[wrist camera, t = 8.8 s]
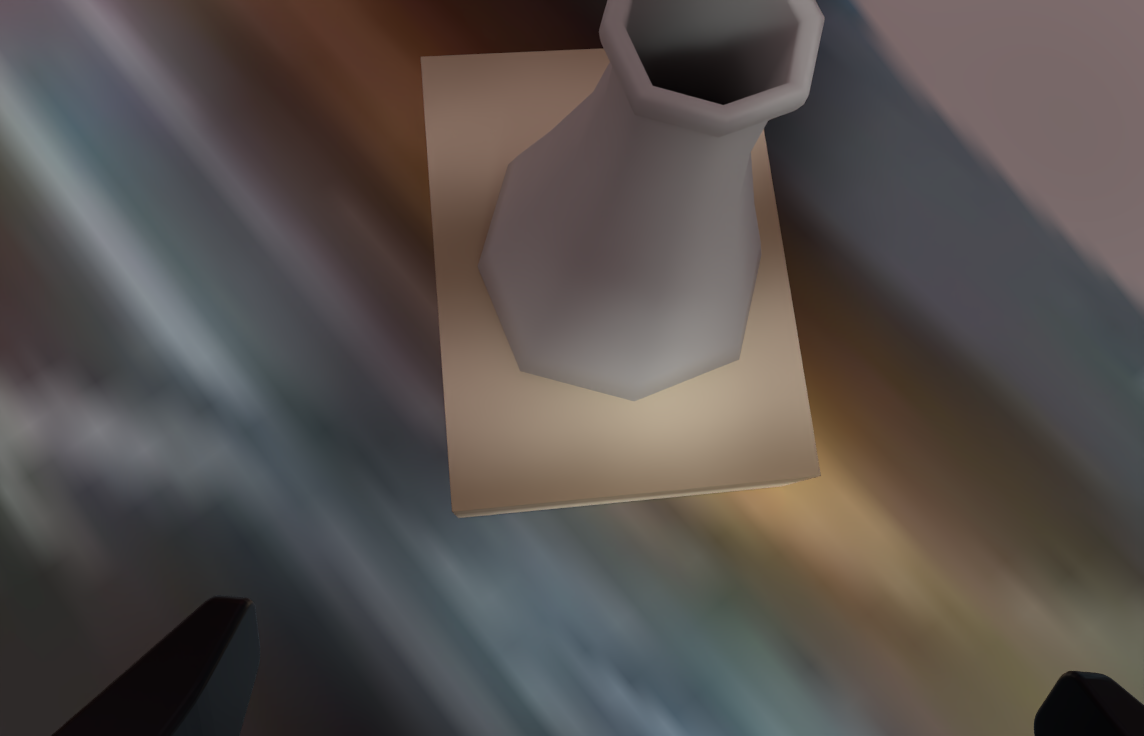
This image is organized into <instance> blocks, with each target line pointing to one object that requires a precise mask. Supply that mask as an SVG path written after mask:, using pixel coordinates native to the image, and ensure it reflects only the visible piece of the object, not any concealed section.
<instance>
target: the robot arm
mask: <svg viewBox="0 0 1144 736" xmlns="http://www.w3.org/2000/svg"><path fill="white" fill-rule="evenodd" d="M259 660H260V643H259V634H258V626H257V617H256V609H255V605H254V603H253V601H252V600H251V599H249V598H246V597H235V596H224V595H217V596H214V597H211V598H210V599H208V600H207V601H205V602H204V603H203V604H202V605H201V606H200V607H199V608H197V609H196V610H195V611H194V612H193V613H192V614H191V615H189V616H188V617H187V618H186V619H185V620H184V621H182V622H181V623H180V624H179V625H178V626H177V627H176V628H174V629H173V630H172V631H171V632H170V633H169V634H167V635H166V636H165V637H164V638H163V639H162V640H161V641H159V642H158V643H157V644H156V645H155V646H154V647H153V648H151V649H150V650H149V651H148V652H147V653H146V654H144V655H143V656H142V657H141V658H140V659H139V660H138V661H136V662H135V663H134V664H133V665H132V666H131V667H130V668H128V669H127V670H126V671H125V672H124V673H123V674H121V675H120V676H119V677H118V678H117V679H116V680H115V681H113V682H112V683H111V684H110V685H109V686H108V687H106V688H105V689H104V690H103V691H102V692H101V693H100V694H98V695H97V696H96V697H95V698H94V699H93V700H92V701H90V702H89V703H88V704H87V705H86V706H85V707H83V708H82V709H81V710H80V711H79V712H78V713H77V714H75V715H74V716H73V717H72V718H71V719H70V720H68V721H67V722H66V723H65V724H64V725H63V726H62V727H60V728H59V729H58V730H57V731H56V732H55V733H54V734H52V735H51V736H239V735H240V731H241V728H242V724H243V720H244V717H245V713H246V710H247V706H248V703H249V699H250V696H251V692H252V688H253V685H254V681H255V678H256V674H257V670H258V666H259ZM1034 734H1035V736H1144V705H1143V704H1142V703H1141V702H1139V701H1138V700H1137V699H1136V698H1135V697H1133V696H1132V695H1131V694H1130V693H1128V692H1127V691H1126V690H1125V689H1124V688H1122V687H1121V686H1120V685H1119V684H1118V683H1116V682H1115V681H1114V680H1112V679H1111V678H1110V677H1108V676H1106V675H1103V674H1099V673H1091V672H1080V671H1068V672H1066V673H1064V674H1063V675H1062V676H1061V677H1060V678H1059V680H1058V681H1057V683H1056V684H1055V686H1054V687H1053V689H1052V690H1051V692H1050V693H1049V695H1048V696H1047V698H1046V699H1045V701H1044V702H1043V704H1042V705H1041V707H1040V708H1039V710H1038V712H1037V714H1036V716H1035V720H1034Z"/></svg>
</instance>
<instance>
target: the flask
mask: <svg viewBox="0 0 1144 736" xmlns="http://www.w3.org/2000/svg"><path fill="white" fill-rule="evenodd" d="M824 19H825V18H824V16H823V14H822V12H821V10H820V8H819V6H818V4H817V2H816V1H815V0H607V4H606V7H605V11H604V14H603V18H602V21H601V25H600V29H599V35H600V41H601V44H602V46H603V48H604V50H605V52H606V54H607V56H608V59H609V61H610V63H609V64H608V66H607V68H606V70H605V71H604V73H603V75H602V77H601V79H600V80H599V82H598V84H597V86H596V88H595V89H594V91H593V92H592V93H591V94H590V95H589V96H588V97H587V98H586V99H585V100H584V101H583V102H582V103H580V104H579V105H578V106H577V107H576V108H575V109H574V110H573V111H572V112H571V113H570V114H568V115H567V116H566V117H565V118H564V119H563V120H562V121H561V122H560V123H559V124H558V125H557V126H555V127H554V128H553V129H552V130H551V131H550V132H549V133H547V134H546V135H545V136H543V137H542V138H541V139H539V140H538V141H537V142H535V143H534V144H533V145H531V146H530V147H529V148H527V149H526V150H525V151H524V152H522V153H521V154H520V155H518V156H517V157H516V158H515V159H514V160H513V161H512V162H511V163H509V164H508V167H507V170H506V173H505V177H504V180H503V183H502V187H501V190H500V193H499V197H498V200H497V203H496V207H495V210H494V213H493V217H492V220H491V223H490V227H489V230H488V233H487V237H486V240H485V243H484V247H483V250H482V253H481V257H480V260H479V263H478V269H479V271H480V274H481V276H482V279H483V281H484V284H485V286H486V288H487V291H488V293H489V296H490V298H491V301H492V303H493V306H494V308H495V310H496V313H497V315H498V318H499V320H500V323H501V325H502V328H503V330H504V333H505V335H506V337H507V340H508V342H509V345H510V347H511V350H512V352H513V355H514V357H515V359H516V362H517V364H518V367H519V369H520V371H522V372H526V373H529V374H533V375H537V376H541V377H544V378H548V379H552V380H556V381H559V382H563V383H567V384H571V385H574V386H578V387H582V388H586V389H589V390H593V391H597V392H601V393H604V394H608V395H612V396H616V397H619V398H623V399H627V400H631V401H637V400H639V399H642V398H644V397H647V396H649V395H652V394H654V393H657V392H659V391H662V390H664V389H667V388H669V387H672V386H674V385H677V384H679V383H682V382H684V381H687V380H689V379H692V378H694V377H697V376H699V375H702V374H704V373H707V372H709V371H712V370H714V369H717V368H719V367H722V366H724V365H727V364H729V363H732V362H734V361H737V360H739V358H740V353H741V348H742V344H743V339H744V334H745V330H746V325H747V320H748V316H749V311H750V306H751V301H752V297H753V292H754V287H755V283H756V278H757V273H758V269H759V264H760V259H761V241H760V235H759V229H758V223H757V217H756V211H755V204H754V191H753V175H752V160H751V151H752V149H753V147H754V145H755V143H756V142H757V140H758V138H759V136H760V135H761V133H762V131H763V129H764V127H765V126H766V124H767V122H768V120H770V119H773V118H776V117H778V116H781V115H784V114H787V113H790V112H793V111H795V110H797V109H798V108H799V107H801V106H802V105H804V103H805V101H806V99H807V97H808V95H809V91H810V86H811V82H812V77H813V72H814V67H815V63H816V58H817V53H818V48H819V43H820V39H821V34H822V29H823V24H824Z"/></svg>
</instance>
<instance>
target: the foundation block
mask: <svg viewBox="0 0 1144 736" xmlns="http://www.w3.org/2000/svg"><path fill="white" fill-rule="evenodd" d="M609 63H610V61H609V59H608V56H607V54H606V52H605V50H604V48H603V49H580V50H558V51H536V52H513V53H491V54H469V55H446V56H424V57H421V70H422V85H423V99H424V114H425V128H426V142H427V157H428V171H429V186H430V200H431V215H432V229H433V244H434V258H435V272H436V287H437V301H438V316H439V330H440V345H441V359H442V374H443V388H444V403H445V417H446V431H447V446H448V460H449V475H450V489H451V504H452V512H453V513H454V514H455V515H456V516H457V517H458V518H464V517H474V516H484V515H495V514H505V513H515V512H525V511H535V510H546V509H556V508H566V507H576V506H586V505H597V504H607V503H617V502H627V501H637V500H648V499H658V498H668V497H678V496H688V495H698V494H709V493H719V492H729V491H739V490H749V489H760V488H770V487H780V486H785V485H789V484H792V483H796V482H800V481H804V480H807V479H811V478H815V477H818V476H821V474H820V468H819V462H818V456H817V450H816V444H815V438H814V432H813V426H812V419H811V413H810V407H809V401H808V395H807V389H806V383H805V377H804V371H803V365H802V359H801V353H800V346H799V340H798V334H797V328H796V322H795V316H794V310H793V304H792V298H791V292H790V286H789V280H788V274H787V267H786V261H785V255H784V249H783V243H782V237H781V231H780V225H779V219H778V213H777V207H776V201H775V194H774V188H773V182H772V176H771V170H770V164H769V158H768V152H767V146H766V140H765V134H764V129H763V131H762V133H761V135H760V136H759V138H758V140H757V142H756V143H755V145H754V147H753V149H752V151H751V160H752V175H753V191H754V204H755V211H756V217H757V223H758V229H759V235H760V241H761V259H760V264H759V269H758V273H757V278H756V283H755V287H754V292H753V297H752V301H751V306H750V311H749V316H748V320H747V325H746V330H745V334H744V339H743V344H742V348H741V353H740V358H739V360H737V361H734V362H732V363H729V364H727V365H724V366H722V367H719V368H717V369H714V370H712V371H709V372H707V373H704V374H702V375H699V376H697V377H694V378H692V379H689V380H687V381H684V382H682V383H679V384H677V385H674V386H672V387H669V388H667V389H664V390H662V391H659V392H657V393H654V394H652V395H649V396H647V397H644V398H642V399H639V400H637V401H631V400H627V399H623V398H619V397H616V396H612V395H608V394H604V393H601V392H597V391H593V390H589V389H586V388H582V387H578V386H574V385H571V384H567V383H563V382H559V381H556V380H552V379H548V378H544V377H541V376H537V375H533V374H529V373H526V372H522V371H520V369H519V367H518V364H517V362H516V359H515V357H514V355H513V352H512V350H511V347H510V345H509V342H508V340H507V337H506V335H505V333H504V330H503V328H502V325H501V323H500V320H499V318H498V315H497V313H496V310H495V308H494V306H493V303H492V301H491V298H490V296H489V293H488V291H487V288H486V286H485V284H484V281H483V279H482V276H481V274H480V271H479V269H478V263H479V260H480V257H481V253H482V250H483V247H484V243H485V240H486V237H487V233H488V230H489V227H490V223H491V220H492V217H493V213H494V210H495V207H496V203H497V200H498V197H499V193H500V190H501V187H502V183H503V180H504V177H505V173H506V170H507V167H508V164H509V163H511V162H512V161H513V160H514V159H515V158H516V157H517V156H518V155H520V154H521V153H522V152H524V151H525V150H526V149H527V148H529V147H530V146H531V145H533V144H534V143H535V142H537V141H538V140H539V139H541V138H542V137H543V136H545V135H546V134H547V133H549V132H550V131H551V130H552V129H553V128H554V127H555V126H557V125H558V124H559V123H560V122H561V121H562V120H563V119H564V118H565V117H566V116H567V115H568V114H570V113H571V112H572V111H573V110H574V109H575V108H576V107H577V106H578V105H579V104H580V103H582V102H583V101H584V100H585V99H586V98H587V97H588V96H589V95H590V94H591V93H592V92H593V91H594V89H595V88H596V86H597V84H598V82H599V80H600V79H601V77H602V75H603V73H604V71H605V70H606V68H607V66H608V64H609Z"/></svg>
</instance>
